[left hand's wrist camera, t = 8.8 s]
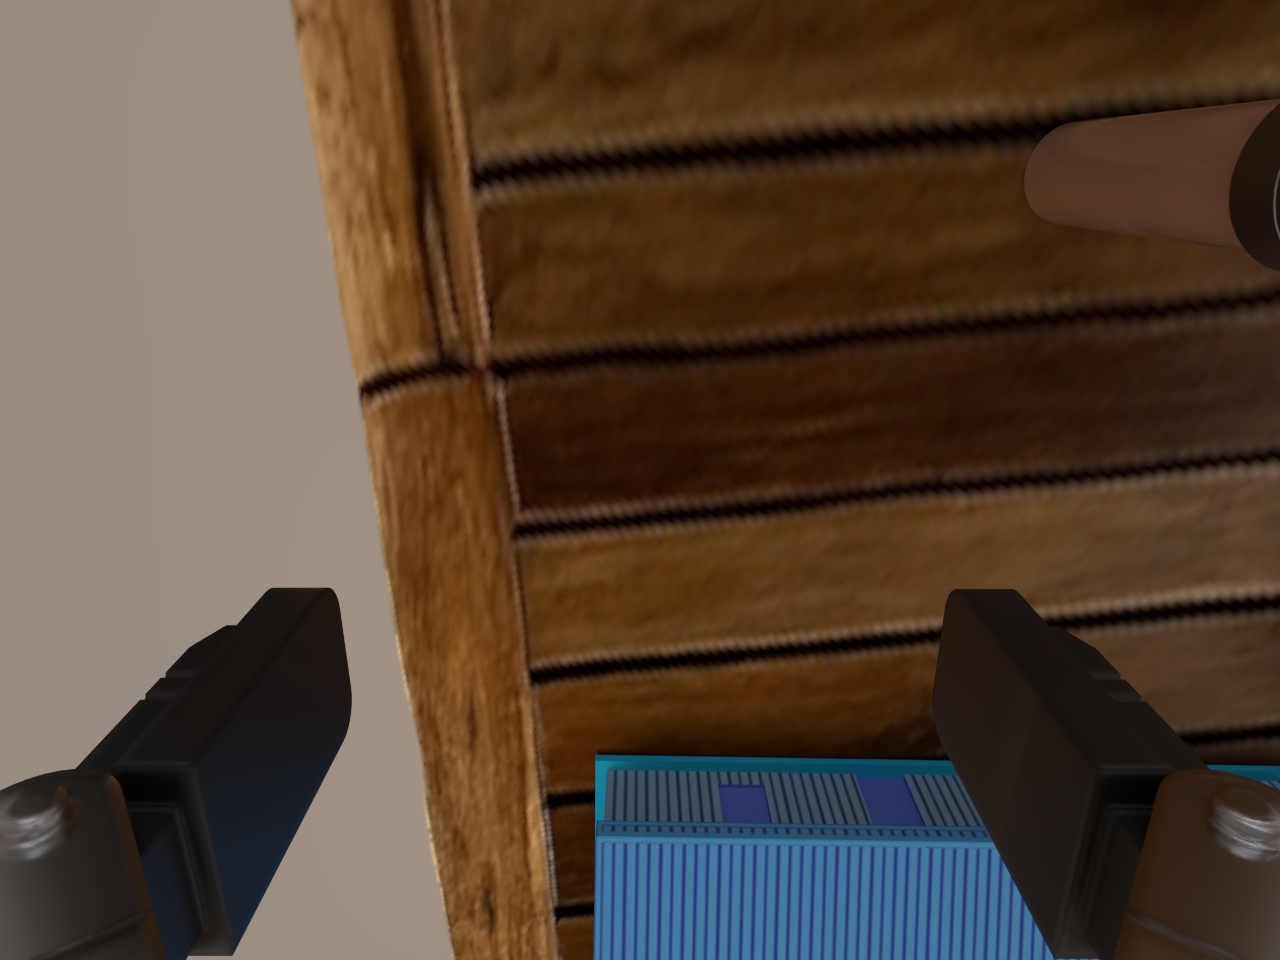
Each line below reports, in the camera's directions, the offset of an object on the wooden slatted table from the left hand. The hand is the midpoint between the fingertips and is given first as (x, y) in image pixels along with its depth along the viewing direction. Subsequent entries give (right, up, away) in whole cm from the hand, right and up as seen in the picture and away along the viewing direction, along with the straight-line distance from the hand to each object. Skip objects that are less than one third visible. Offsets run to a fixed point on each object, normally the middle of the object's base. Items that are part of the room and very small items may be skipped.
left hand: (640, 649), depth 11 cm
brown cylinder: (+19, +16, +26) cm, 35 cm away
